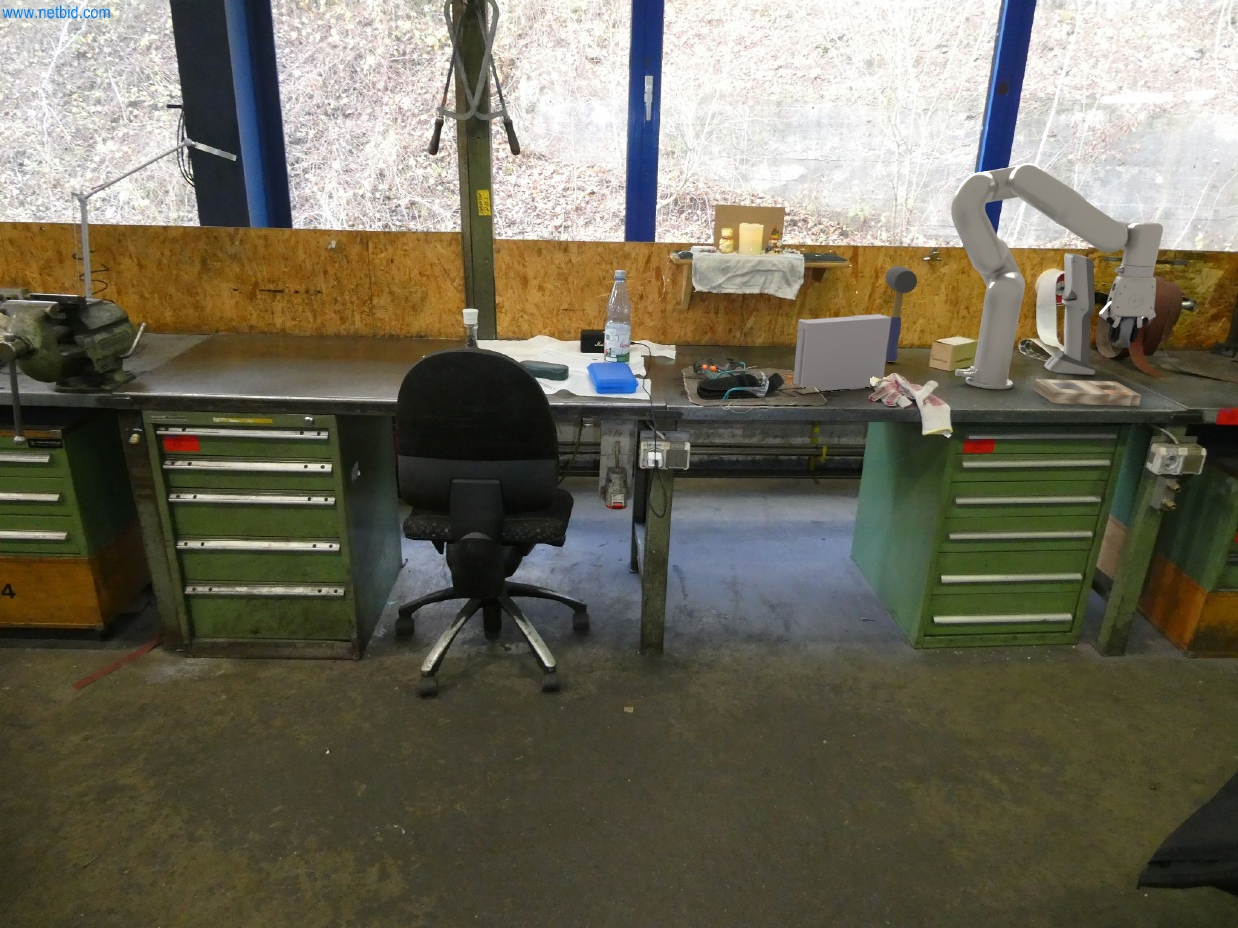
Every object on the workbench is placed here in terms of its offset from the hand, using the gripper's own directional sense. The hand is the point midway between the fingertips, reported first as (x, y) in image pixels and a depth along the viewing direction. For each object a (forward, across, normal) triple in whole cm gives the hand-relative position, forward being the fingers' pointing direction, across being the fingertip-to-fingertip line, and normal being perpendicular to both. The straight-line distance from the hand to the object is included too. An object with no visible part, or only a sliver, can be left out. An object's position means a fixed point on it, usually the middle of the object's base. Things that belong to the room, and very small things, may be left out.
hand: (1121, 341), depth 216 cm
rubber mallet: (+15, -52, +35) cm, 64 cm away
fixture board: (+16, -6, 0) cm, 17 cm away
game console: (+15, -74, +1) cm, 75 cm away
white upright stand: (+16, +2, +32) cm, 36 cm away
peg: (+1, 0, 0) cm, 1 cm away
